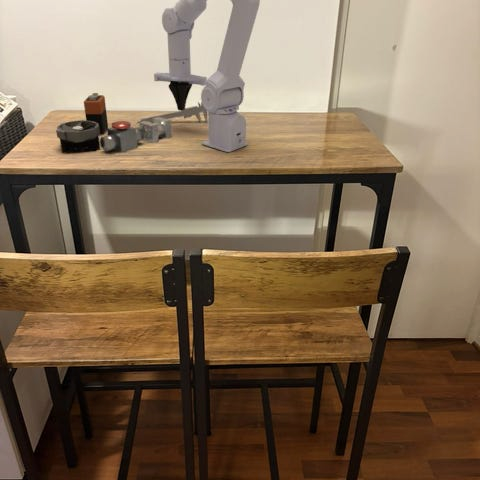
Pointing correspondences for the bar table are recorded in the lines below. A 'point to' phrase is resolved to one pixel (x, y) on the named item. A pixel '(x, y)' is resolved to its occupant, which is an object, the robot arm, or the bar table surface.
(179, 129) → the bar table surface
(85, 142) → the cpu cooler
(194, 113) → the caliper
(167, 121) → the coupling
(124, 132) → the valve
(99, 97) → the battery
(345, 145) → the bar table surface
